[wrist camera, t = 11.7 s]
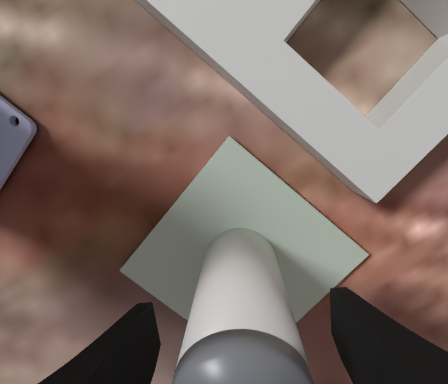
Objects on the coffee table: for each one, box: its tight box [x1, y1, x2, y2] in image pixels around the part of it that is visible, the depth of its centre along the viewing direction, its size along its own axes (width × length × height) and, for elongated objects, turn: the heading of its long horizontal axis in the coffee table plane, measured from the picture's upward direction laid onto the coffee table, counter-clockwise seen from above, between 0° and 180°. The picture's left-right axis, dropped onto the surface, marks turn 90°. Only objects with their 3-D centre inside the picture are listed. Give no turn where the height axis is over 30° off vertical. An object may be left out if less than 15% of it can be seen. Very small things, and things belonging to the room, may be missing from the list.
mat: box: [119, 136, 369, 322], centre depth 15 cm, size 10×10×1 cm
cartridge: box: [172, 228, 314, 384], centre depth 11 cm, size 4×4×8 cm
